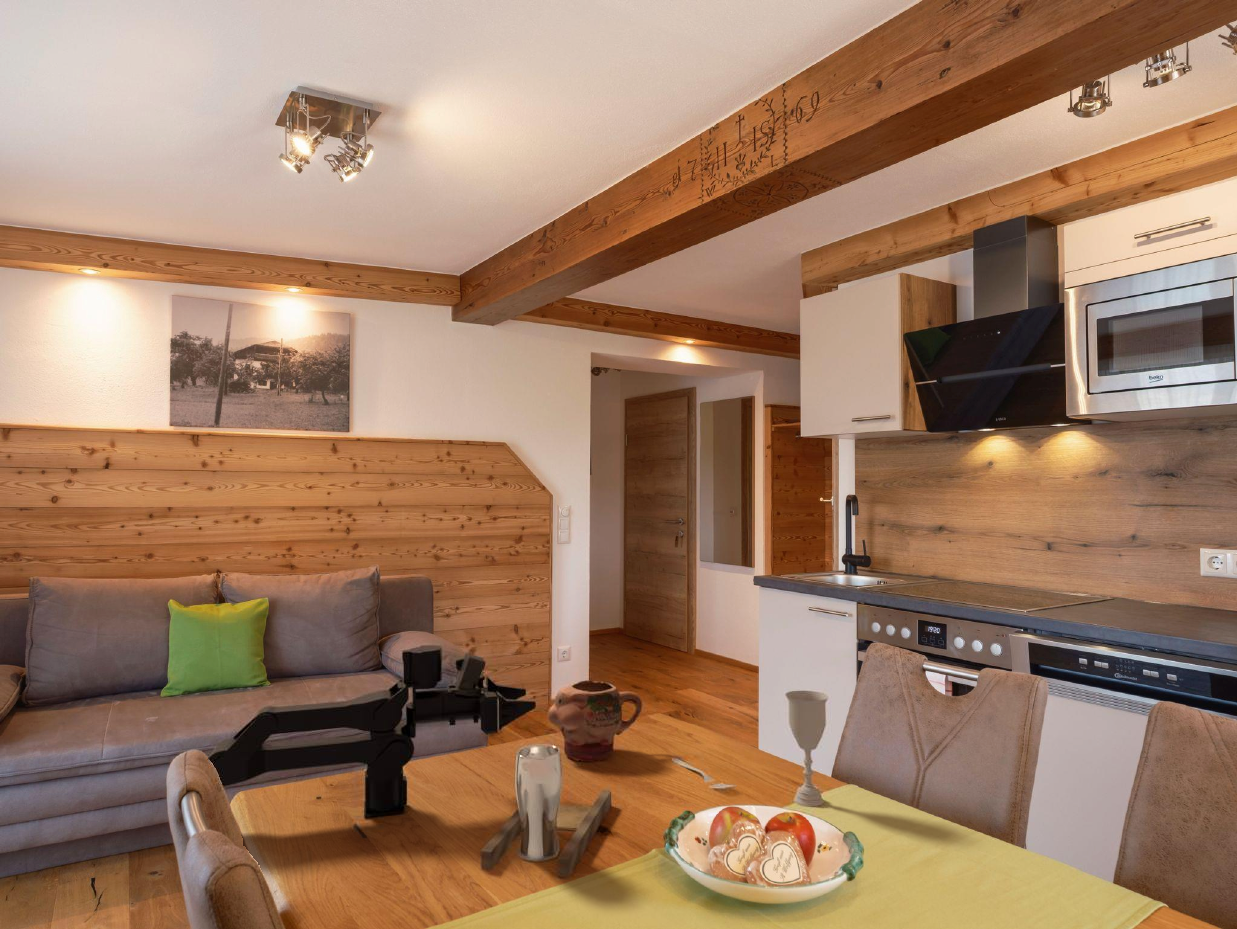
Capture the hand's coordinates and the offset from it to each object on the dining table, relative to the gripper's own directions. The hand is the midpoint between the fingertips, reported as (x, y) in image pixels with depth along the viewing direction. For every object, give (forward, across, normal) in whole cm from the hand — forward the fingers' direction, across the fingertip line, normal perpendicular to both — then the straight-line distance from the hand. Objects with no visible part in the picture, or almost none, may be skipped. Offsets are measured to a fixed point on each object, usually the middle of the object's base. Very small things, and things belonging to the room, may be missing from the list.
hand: (530, 698), depth 144 cm
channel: (0, -19, +16) cm, 25 cm away
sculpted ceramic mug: (+17, +16, +17) cm, 29 cm away
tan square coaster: (+3, -13, +16) cm, 21 cm away
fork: (+32, -1, +17) cm, 36 cm away
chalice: (+45, -20, +17) cm, 52 cm away
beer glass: (-4, -25, +17) cm, 30 cm away
